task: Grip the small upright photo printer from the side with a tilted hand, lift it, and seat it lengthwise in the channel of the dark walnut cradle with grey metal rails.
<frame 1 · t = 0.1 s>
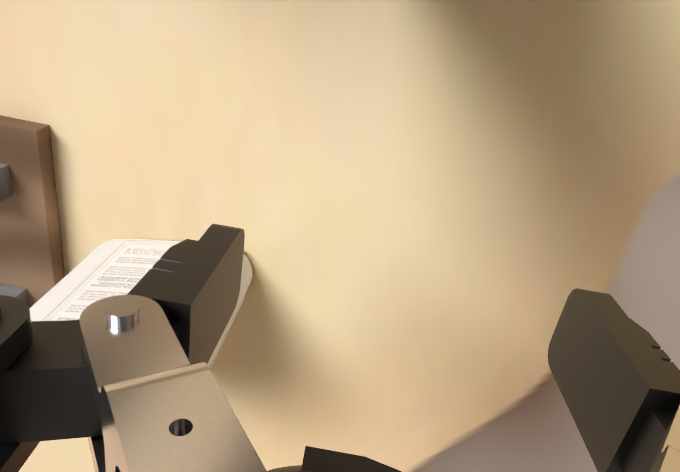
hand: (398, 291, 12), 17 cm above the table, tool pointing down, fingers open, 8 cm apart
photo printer: (179, 263, 34), on the table
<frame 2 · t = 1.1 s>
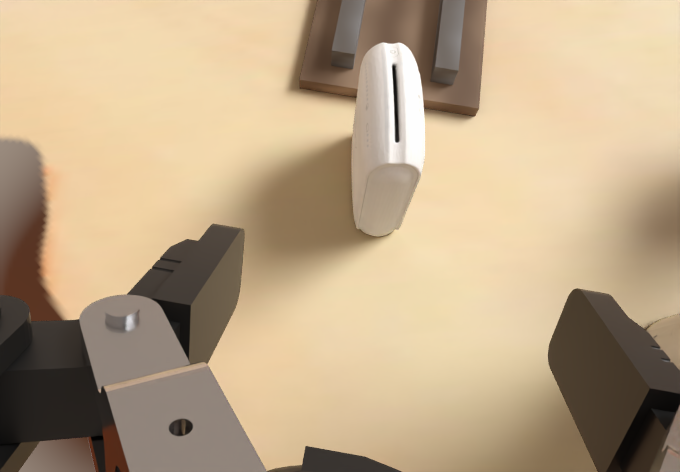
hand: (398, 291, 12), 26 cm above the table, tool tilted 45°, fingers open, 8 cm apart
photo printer: (374, 181, 43), on the table
cradle: (400, 16, 49), on the table
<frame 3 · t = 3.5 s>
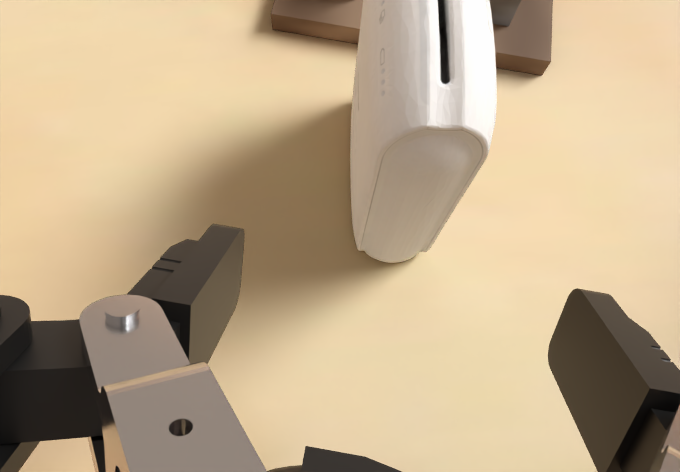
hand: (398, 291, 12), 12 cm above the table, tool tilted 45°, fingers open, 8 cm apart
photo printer: (387, 173, 27), on the table
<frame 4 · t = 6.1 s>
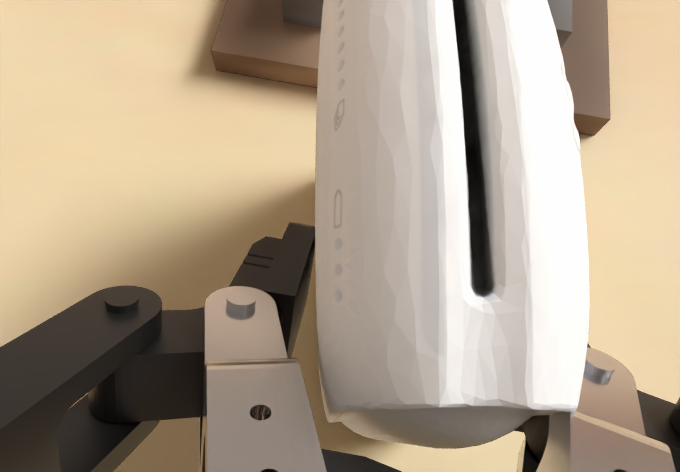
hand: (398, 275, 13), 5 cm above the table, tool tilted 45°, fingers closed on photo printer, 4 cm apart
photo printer: (377, 286, 18), on the table, touching gripper
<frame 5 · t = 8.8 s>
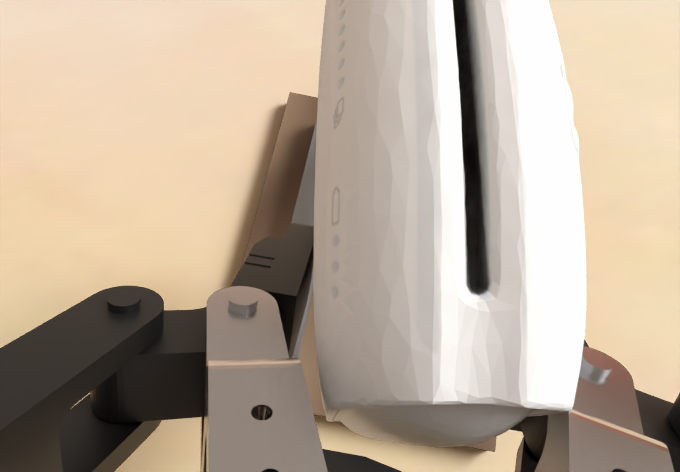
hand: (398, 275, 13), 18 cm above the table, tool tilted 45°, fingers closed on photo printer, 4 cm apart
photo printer: (378, 287, 18), point 13 cm above the table, touching gripper
cradle: (378, 257, 32), on the table
when the fingers open (7 cm above the table, at t = 11.6 s): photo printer drops 1 cm, resting on cradle.
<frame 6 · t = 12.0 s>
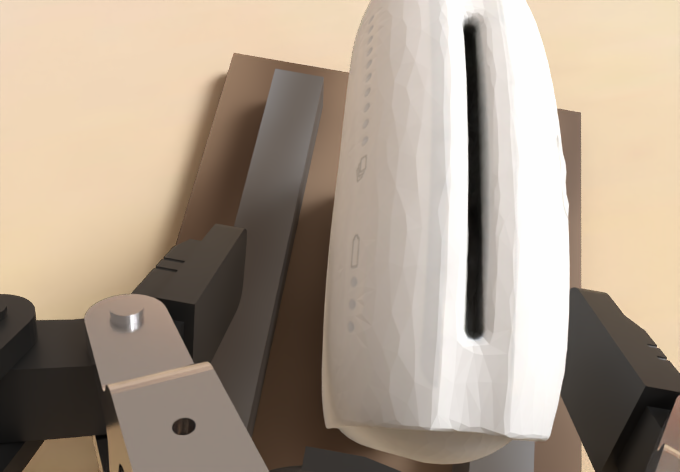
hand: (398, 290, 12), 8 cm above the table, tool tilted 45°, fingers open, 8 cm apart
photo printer: (380, 303, 20), point 1 cm above the table, touching cradle
cradle: (372, 301, 21), on the table
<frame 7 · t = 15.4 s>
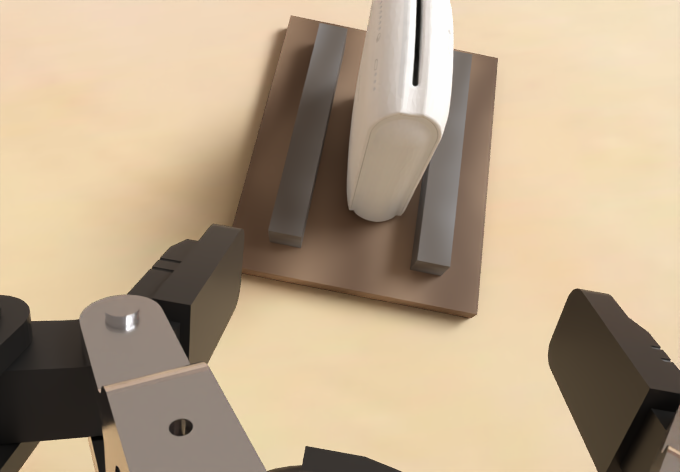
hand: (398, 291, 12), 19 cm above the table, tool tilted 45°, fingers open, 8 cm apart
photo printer: (377, 155, 35), point 1 cm above the table, touching cradle
cradle: (372, 158, 36), on the table
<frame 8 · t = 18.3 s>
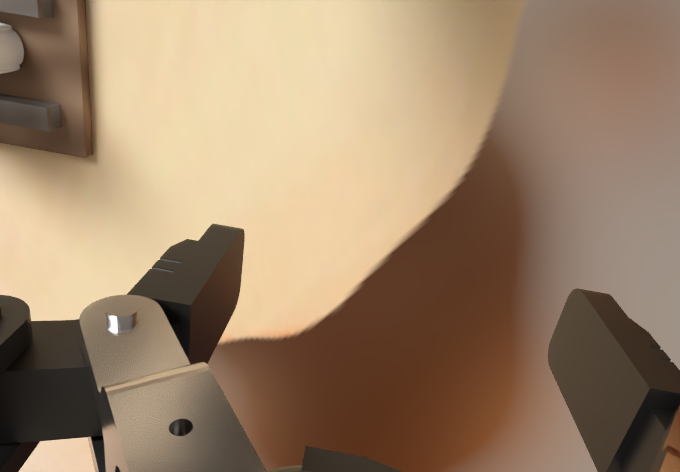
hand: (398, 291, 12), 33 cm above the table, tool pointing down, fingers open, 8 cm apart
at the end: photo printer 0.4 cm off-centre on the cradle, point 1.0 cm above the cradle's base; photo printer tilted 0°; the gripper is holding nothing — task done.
